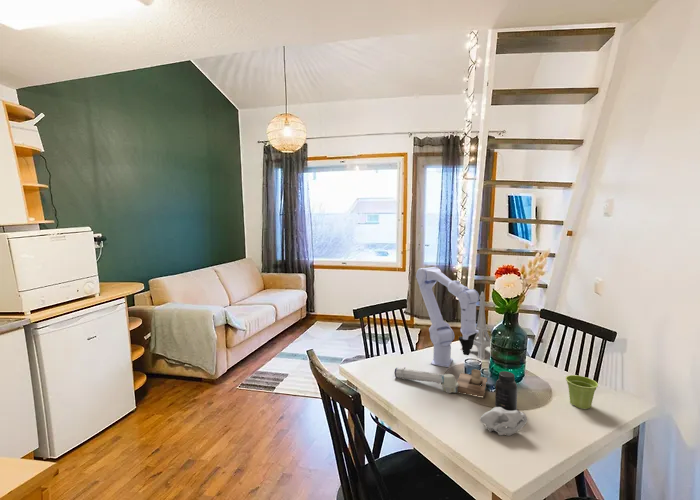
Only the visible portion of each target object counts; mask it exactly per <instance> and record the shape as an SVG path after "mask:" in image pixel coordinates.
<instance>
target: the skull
mask: <svg viewBox="0 0 700 500" xmlns="http://www.w3.org/2000/svg"><path fill="white" fill-rule="evenodd" d="M479 421H480V423H481V424H483V425H484V426H485V427H486V429H487V430H488V431H489V432H490V433H492V431H495V432H496V433H497V435H498V436H503V435H505V436H508V437H509V436H512V435H514V434H515V433H517V432H519V430H521V429H522V428H524V426H525V425H526V423H527V421H528V418H527V415H526V413H524V412H522V411H520V410H518V409H516V410H514V411H508V410H505V409H503V408H501V407H496V406H494V407H493V408H492V409H491V410H488V411H485V412H484V413H483V414H482V415H480V418H479Z"/></svg>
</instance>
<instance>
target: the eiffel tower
mask: <svg viewBox="0 0 700 500" xmlns="http://www.w3.org/2000/svg"><path fill="white" fill-rule="evenodd" d="M485 300H486V295H485V293H484V291H481V293H480V294H479V309H478V310H479V312H478V315H477V321H476V322H477V323H476V330H478V331H479V333H477V334H476V336H475V338H474V342H473V346H475V347H476V348H477V356H476V358H477V359H479V360H484V359H486V356H485V351H486V348H488V347H489V348H490V339H491V337H490V335H489V332H488V327H487V323H486V314H485V313H486V312H485V311H486V310H485ZM460 350H461V351H462V352H463V350H462V347H461V348H460Z"/></svg>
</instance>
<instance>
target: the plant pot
mask: <svg viewBox="0 0 700 500" xmlns="http://www.w3.org/2000/svg"><path fill="white" fill-rule="evenodd" d="M565 381H566V383H567V387H568V395H569V403H570V404H571V405H572V406H575V407H576V408H578V409H582V410H587V409H588V410H589V409H592V404H593V399H594V395H595V391H596V390H597V388H598V387H599V383H598V382H597V381H596V380H594V379H592V378H589V377H586V376H583V375H577V374H573V375H572V374H570V375H567V376H566V377H565Z"/></svg>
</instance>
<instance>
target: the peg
mask: <svg viewBox="0 0 700 500" xmlns="http://www.w3.org/2000/svg"><path fill="white" fill-rule="evenodd" d="M470 375H471V383H472V385H477V386H480V381H481V377H482V376H481V375H482V372H481V370H479V369H471V374H470Z"/></svg>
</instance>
